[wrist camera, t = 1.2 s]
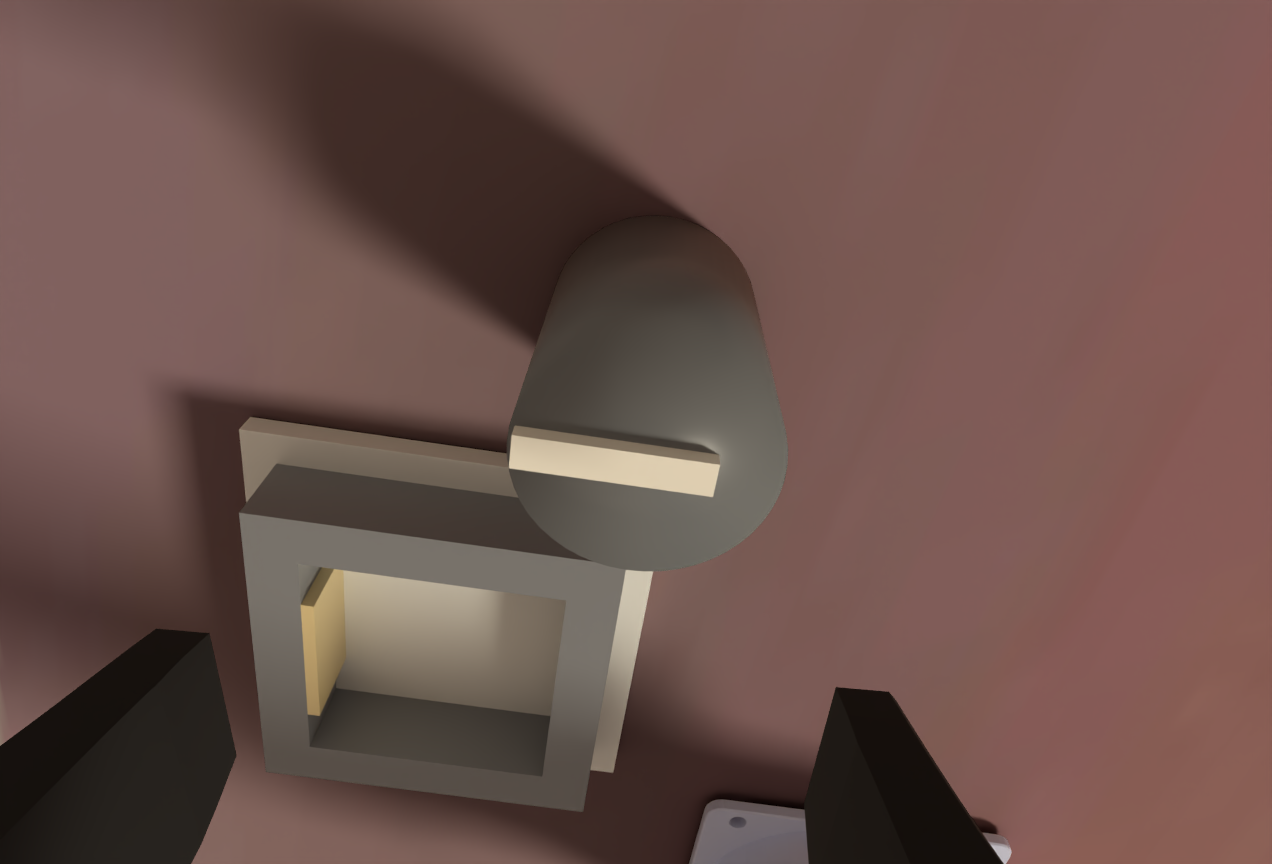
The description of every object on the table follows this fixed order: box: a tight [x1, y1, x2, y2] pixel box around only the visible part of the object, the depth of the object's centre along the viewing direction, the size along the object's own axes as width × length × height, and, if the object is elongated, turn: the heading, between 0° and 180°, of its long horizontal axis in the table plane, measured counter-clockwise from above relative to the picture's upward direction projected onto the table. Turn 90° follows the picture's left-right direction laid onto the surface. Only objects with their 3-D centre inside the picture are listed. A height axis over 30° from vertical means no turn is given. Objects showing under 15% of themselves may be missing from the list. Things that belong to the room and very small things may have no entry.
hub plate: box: [239, 417, 653, 812], centre depth 22 cm, size 10×10×3 cm
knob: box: [507, 216, 788, 571], centre depth 16 cm, size 4×4×6 cm
